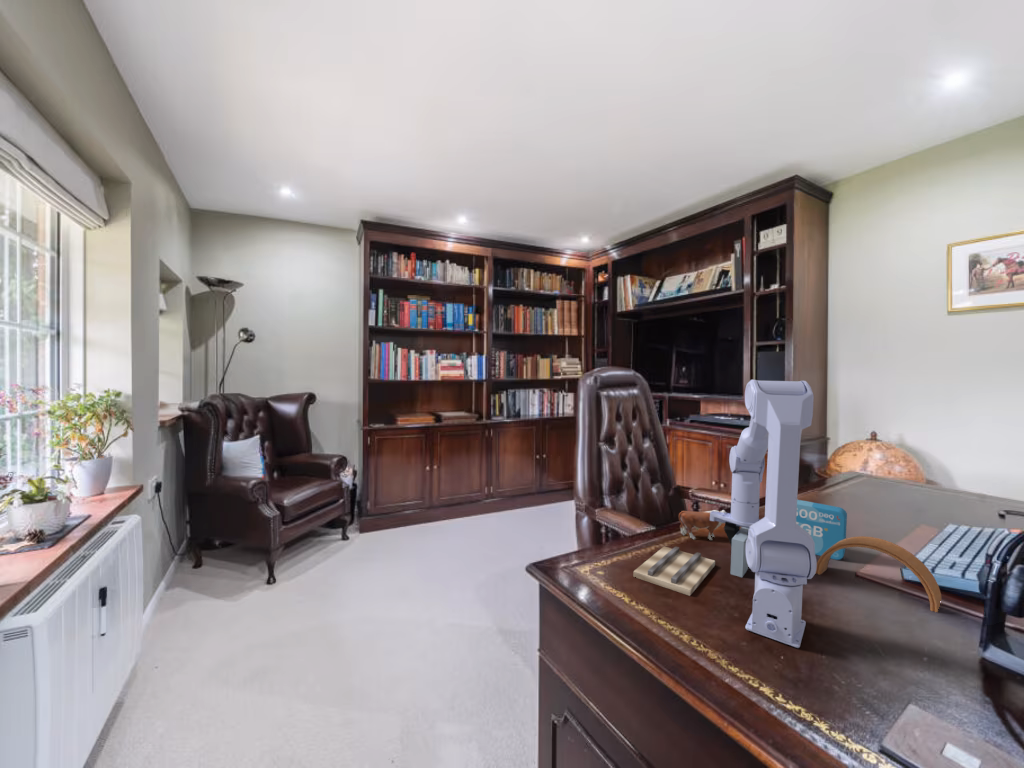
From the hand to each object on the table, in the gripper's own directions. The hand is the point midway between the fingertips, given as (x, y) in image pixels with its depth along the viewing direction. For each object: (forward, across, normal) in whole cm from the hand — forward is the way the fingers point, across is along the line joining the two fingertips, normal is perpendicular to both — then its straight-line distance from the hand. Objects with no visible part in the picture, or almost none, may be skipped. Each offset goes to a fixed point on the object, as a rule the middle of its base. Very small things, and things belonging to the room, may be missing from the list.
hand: (742, 557), depth 101 cm
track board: (+2, +11, +13) cm, 17 cm away
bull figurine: (+2, +12, -12) cm, 17 cm away
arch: (+2, -24, -8) cm, 25 cm away
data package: (+2, -12, -22) cm, 25 cm away
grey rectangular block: (+2, 0, 0) cm, 2 cm away
